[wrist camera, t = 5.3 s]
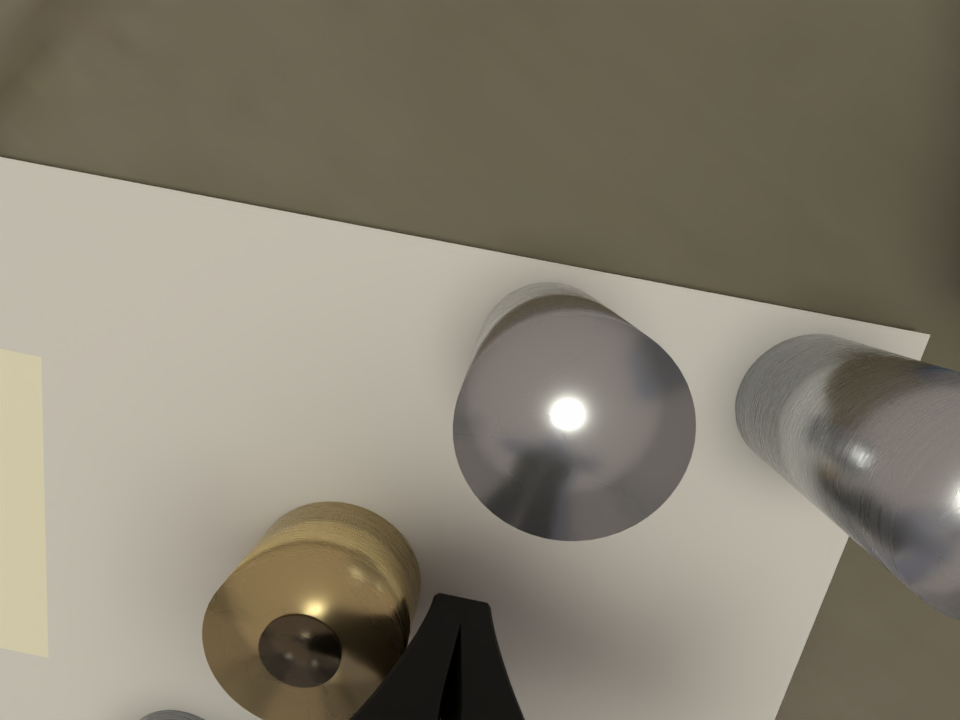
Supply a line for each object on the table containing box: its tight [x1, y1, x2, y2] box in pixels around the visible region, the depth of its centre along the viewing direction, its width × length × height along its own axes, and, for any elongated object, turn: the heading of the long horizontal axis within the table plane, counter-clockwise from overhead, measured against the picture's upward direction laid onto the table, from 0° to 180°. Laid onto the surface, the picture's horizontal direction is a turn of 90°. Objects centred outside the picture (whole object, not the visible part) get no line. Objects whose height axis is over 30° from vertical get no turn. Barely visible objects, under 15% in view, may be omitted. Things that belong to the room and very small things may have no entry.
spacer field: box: [140, 282, 960, 720], centre depth 11 cm, size 17×17×5 cm
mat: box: [0, 157, 930, 720], centre depth 14 cm, size 20×28×1 cm
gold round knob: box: [202, 501, 421, 720], centre depth 12 cm, size 4×4×2 cm
